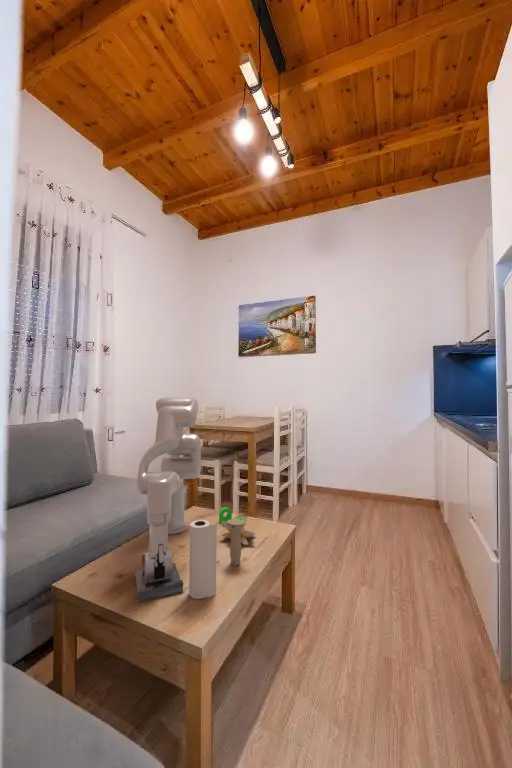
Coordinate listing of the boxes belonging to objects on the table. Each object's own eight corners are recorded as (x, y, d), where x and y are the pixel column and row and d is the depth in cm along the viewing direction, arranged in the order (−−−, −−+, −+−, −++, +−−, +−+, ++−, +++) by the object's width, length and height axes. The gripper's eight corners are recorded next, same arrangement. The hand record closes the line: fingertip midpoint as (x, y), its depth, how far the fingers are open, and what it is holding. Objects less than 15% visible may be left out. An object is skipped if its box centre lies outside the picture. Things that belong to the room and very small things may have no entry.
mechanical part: (223, 530, 146) (224, 512, 147) (219, 525, 152) (219, 508, 152) (247, 525, 152) (247, 508, 152) (242, 520, 157) (242, 504, 158)
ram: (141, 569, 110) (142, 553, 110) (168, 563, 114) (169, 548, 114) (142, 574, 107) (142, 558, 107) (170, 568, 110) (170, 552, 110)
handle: (229, 559, 120) (229, 518, 120) (245, 562, 118) (246, 520, 119) (224, 566, 115) (225, 523, 116) (241, 568, 114) (242, 525, 114)
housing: (144, 575, 105) (144, 548, 105) (169, 570, 108) (170, 544, 109) (145, 583, 101) (146, 555, 101) (172, 577, 104) (172, 550, 104)
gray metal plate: (135, 575, 109) (135, 566, 109) (174, 567, 114) (174, 558, 114) (138, 602, 95) (138, 592, 95) (183, 592, 100) (183, 582, 100)
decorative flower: (263, 540, 136) (263, 516, 136) (249, 551, 126) (249, 525, 126) (232, 533, 143) (233, 510, 144) (217, 543, 133) (218, 518, 134)
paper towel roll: (185, 594, 99) (185, 523, 99) (199, 585, 104) (200, 517, 104) (201, 604, 94) (202, 529, 95) (216, 594, 99) (216, 523, 100)
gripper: (144, 509, 111) (144, 563, 111) (149, 528, 96) (148, 591, 95) (167, 506, 114) (166, 559, 114) (175, 524, 99) (174, 585, 98)
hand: (158, 573), depth 105 cm, fingers closed on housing, 4 cm apart
